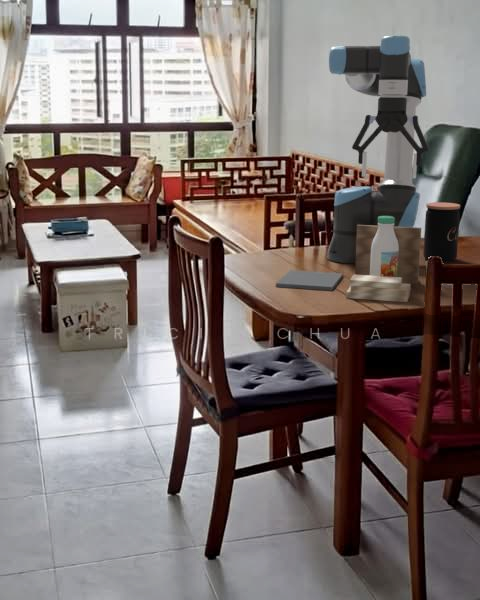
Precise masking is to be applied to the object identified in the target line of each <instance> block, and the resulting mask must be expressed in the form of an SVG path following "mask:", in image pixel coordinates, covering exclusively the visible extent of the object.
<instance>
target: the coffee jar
mask: <svg viewBox="0 0 480 600" xmlns="http://www.w3.org/2000/svg"><path fill="white" fill-rule="evenodd" d="M425 206H426V208H427V210H426V211H425V219H424V220H425V221H424V222H425V223H424V238H423V254H422V255H423V257H424V259H425V260H426V261H428V260H427V259H428V257H430V256H439V257H441V258H442V261H443V262H442V263H453V262H454V261H455V260H456V259H457V258H458V247H459V233H460V232H459V231H460V230H459V229H460V220H461V219H460V218H461V217H460V216H461V213H460V210H459V209H461V204H458V203H454V202H443V201H442V202H441V201H440V202H428V203H426V205H425Z"/></svg>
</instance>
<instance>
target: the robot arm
mask: <svg viewBox="0 0 480 600" xmlns="http://www.w3.org/2000/svg"><path fill="white" fill-rule="evenodd" d="M410 41H411V40H410V37H409V36H406V35H385V36H382V38H381V39H380V45H340V46H339V45H338V46H332V47H331V48H330V50H329V53H328V54H329V55H328V68H329V72H330V73H331V74H332V75H334V74H335V75H339V76H340V75H341V76H342V75H344V76H345V81H346V83H347V85H348V86H349V87H350V88H351V89H352V90H353V91H354V90H355V91H356V92H359V93H361V94H363V95H367V96H370V97H371V96H372V97H378V99H377V101H378V102H377V113H376V115H371V114H366V115H365V118H364V123H363V125H362V127H361V129H360V131H359V133H358V134H357V136H356V138H355V141H354V143H353V144H352V146H351V148H352V150H355V151H356V152H358V164H359V165H361V177H362V178H363V177H366V176H367V159H368V158H367V154H368V152H367V151H365V150H366V149H367V148H368V146H370V144H371V143H372V142H373V141H374V140H375V139H376V138H377V137H378V135H379V134H380V133H381V132H384V133H386V144H385V159H384V161H385V162H384V174H383V175H384V176H383V177H384V178H383V181H382V182H381V183H380V184H379V185H378V191H373V189H372V187H371V186H369V185H368V186H367V185H366V186H352V187H346V188H342V189H338V190H337V191H336V192H335V193H334V204H333V206H334V207H333V210H334V211H333V212H334V213H333V234H332V237H331V241H330V243H329V247H328V250H327V253H326V254H327V256H326V257H327V260H329V261H332V262H337V263H342V264H356V239H357V225H374V226H378V217H379V216H392V217H394V218H395V222H394V224H395V225H394V227H414V226H415V224H416V219H417V215H418V210H419V206H420V205H419V203H420V198H421V193H419V192H417V191H416V189H417V187H416V185H415V184H414V183H413V182H412V179H416V178H417V169H418V168H417V167H418V166H419V167H420V166H421V164H422V154H423V153H426V152H428V151H429V150H430V147H429V144H428V142H427V141H426V138H425V136H424V134H423V132H422V129H421V127H420V124H419V116H418V115H416V114H417V113H416V112H417V107H418V106H419V105H420V104H422V98H424V97H427V86H426V85H427V84H426V83H427V82H426V71H425V70H426V69H425V63H424V61H423V60H422V59H419V58H412V57H411V56H412V55H411V54H410V53H411V52H410V49H411V45H410ZM374 121H375V122H376V123H377V125H378V127H377V128H376V129H374V131H373V132H372V134H370V135H369V136H368V138H367V139H366V140H365V141H364V142H363V144H361V142H362V140H363V139H364V137H365V135H366V133H367V131H368V129H369V127H370V125H371V124H373V123H374ZM415 132H416V135H417V137H418V140H419V142H420V144H421V146H422V147H420V145H419V144H418V143H417V141H416V140H415ZM360 144H361V146H360ZM414 151H415V152H414Z"/></svg>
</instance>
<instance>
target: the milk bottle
mask: <svg viewBox="0 0 480 600" xmlns="http://www.w3.org/2000/svg"><path fill="white" fill-rule="evenodd" d="M394 222H395V218H394V217H392V216H379V217H378V230H377V233H376V235H375V237H374V239H373V242H372V246H371V258H370V276H386V277H398V258H399V246H398V241H397V238H396V236H395V233H394V228H393V227H394V225H395V224H394Z"/></svg>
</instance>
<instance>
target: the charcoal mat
mask: <svg viewBox="0 0 480 600" xmlns="http://www.w3.org/2000/svg"><path fill="white" fill-rule="evenodd" d="M343 278H344V273H339V272H323V271H309V270H308V271H307V270H294V269H290V270H289V271H288V272H286V273H285V274H284V275H283V276H282V277H281V278H280V279H279V280H278V281H276V282H275V287H276V288H288V289H289V288H290V289H303V290H305V289H306V290H317V291H318V290H319V291H331V292H332V291H333V290H334V289H335V288H336V287H337V285H338V284H339V282H340V281H341V280H342V279H343Z"/></svg>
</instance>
